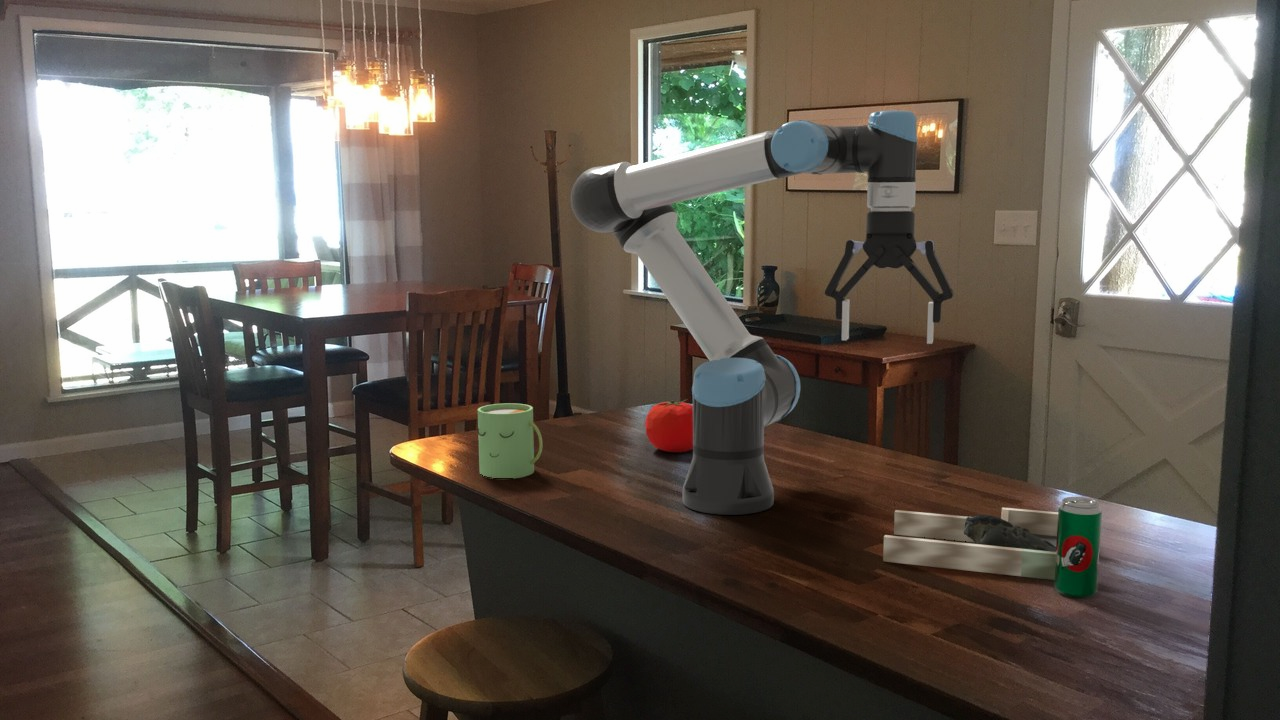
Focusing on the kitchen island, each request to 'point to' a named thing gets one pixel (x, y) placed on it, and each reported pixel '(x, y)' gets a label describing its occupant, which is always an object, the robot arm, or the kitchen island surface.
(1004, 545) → the stone
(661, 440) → the tomato
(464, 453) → the kitchen island surface
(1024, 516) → the channel
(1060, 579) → the soda can
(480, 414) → the mug
